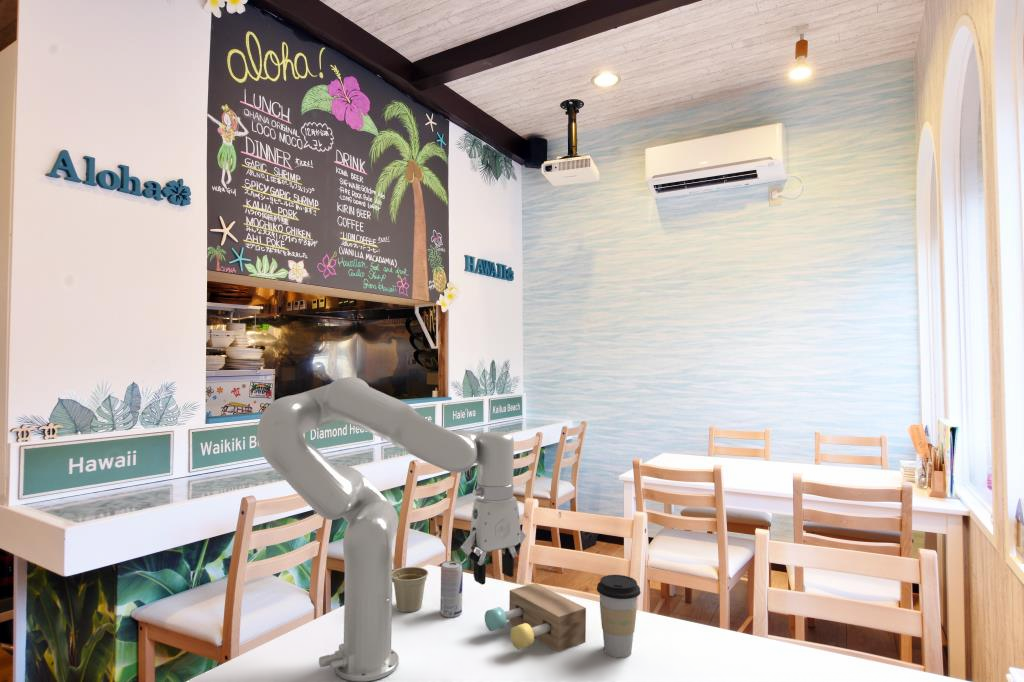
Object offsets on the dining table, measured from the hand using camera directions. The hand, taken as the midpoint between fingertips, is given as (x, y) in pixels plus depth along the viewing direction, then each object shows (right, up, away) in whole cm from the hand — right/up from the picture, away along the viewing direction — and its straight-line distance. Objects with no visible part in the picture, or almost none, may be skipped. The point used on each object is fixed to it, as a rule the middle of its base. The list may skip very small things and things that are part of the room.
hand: (493, 577), depth 124 cm
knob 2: (+9, -16, +6) cm, 20 cm away
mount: (+12, -18, +15) cm, 26 cm away
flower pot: (-22, -18, +27) cm, 39 cm away
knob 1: (+3, -17, +14) cm, 22 cm away
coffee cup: (+27, -18, +6) cm, 33 cm away
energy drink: (-11, -18, +24) cm, 32 cm away
